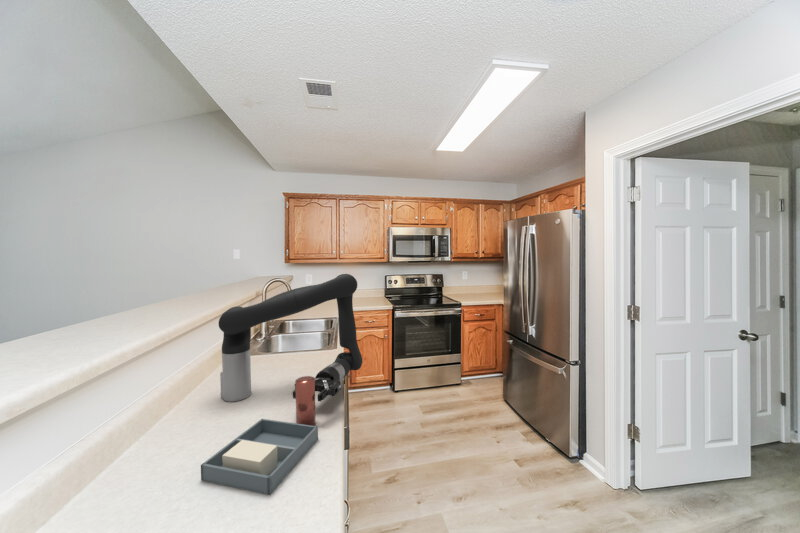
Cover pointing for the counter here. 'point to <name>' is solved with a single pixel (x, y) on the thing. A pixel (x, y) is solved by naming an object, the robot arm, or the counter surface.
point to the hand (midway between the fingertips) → (306, 397)
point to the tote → (285, 435)
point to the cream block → (252, 457)
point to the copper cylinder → (305, 400)
